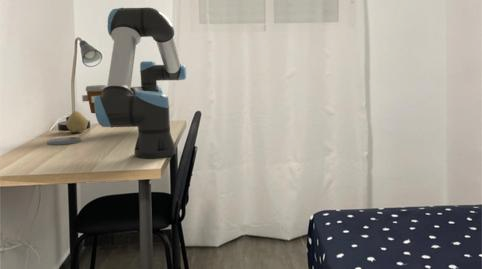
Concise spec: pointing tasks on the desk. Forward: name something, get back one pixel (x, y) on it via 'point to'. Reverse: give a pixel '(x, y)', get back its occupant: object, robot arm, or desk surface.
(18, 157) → the desk surface
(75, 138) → the saucer
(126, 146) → the desk surface
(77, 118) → the tan rounded lump
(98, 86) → the disposable coffee cup
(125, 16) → the robot arm
